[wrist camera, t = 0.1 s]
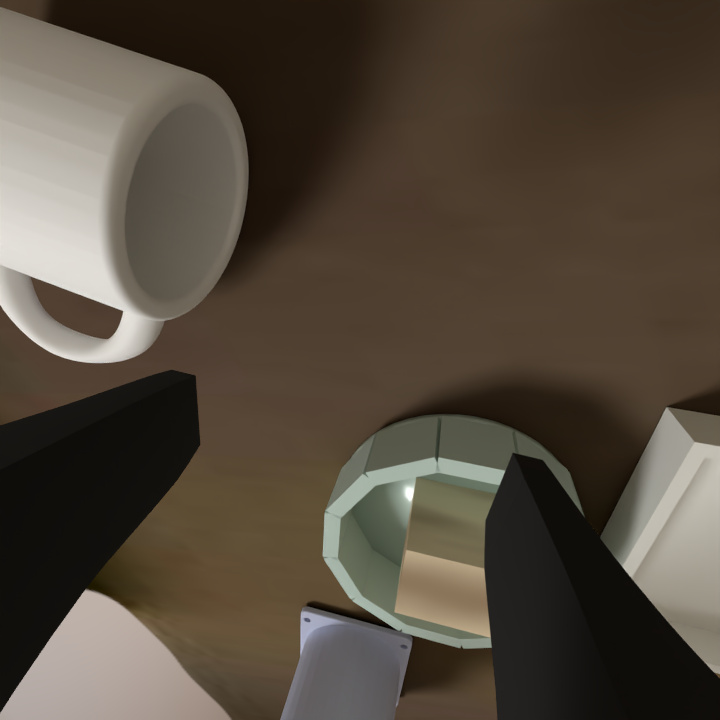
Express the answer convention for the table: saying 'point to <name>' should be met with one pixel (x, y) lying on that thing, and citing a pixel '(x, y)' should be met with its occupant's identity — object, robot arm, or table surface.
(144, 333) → the mug
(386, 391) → the table surface
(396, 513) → the green bowl
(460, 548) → the maple block
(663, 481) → the white tray
